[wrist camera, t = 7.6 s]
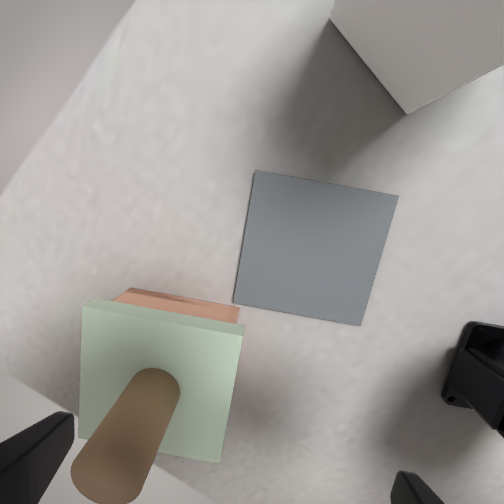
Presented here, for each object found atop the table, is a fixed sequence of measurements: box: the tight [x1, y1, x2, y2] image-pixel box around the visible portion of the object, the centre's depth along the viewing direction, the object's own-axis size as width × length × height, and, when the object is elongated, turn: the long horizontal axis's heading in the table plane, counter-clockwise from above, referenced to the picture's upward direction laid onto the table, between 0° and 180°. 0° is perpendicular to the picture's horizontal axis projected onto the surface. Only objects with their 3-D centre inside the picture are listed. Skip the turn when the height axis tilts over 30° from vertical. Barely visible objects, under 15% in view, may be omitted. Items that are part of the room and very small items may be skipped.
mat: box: [233, 170, 399, 326], centre depth 18 cm, size 9×9×1 cm
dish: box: [113, 288, 239, 324], centre depth 19 cm, size 8×8×4 cm
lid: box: [71, 298, 245, 504], centre depth 14 cm, size 9×9×6 cm
